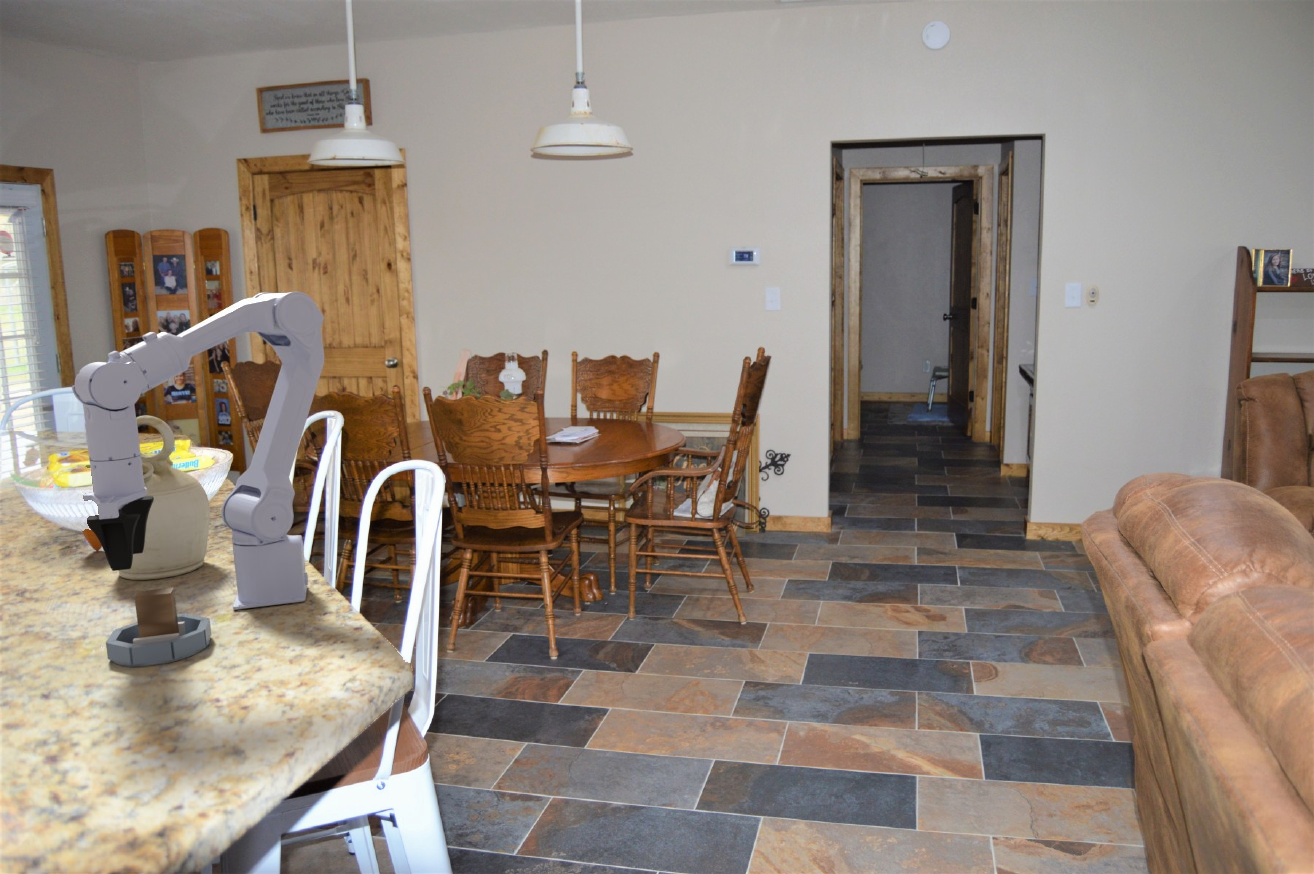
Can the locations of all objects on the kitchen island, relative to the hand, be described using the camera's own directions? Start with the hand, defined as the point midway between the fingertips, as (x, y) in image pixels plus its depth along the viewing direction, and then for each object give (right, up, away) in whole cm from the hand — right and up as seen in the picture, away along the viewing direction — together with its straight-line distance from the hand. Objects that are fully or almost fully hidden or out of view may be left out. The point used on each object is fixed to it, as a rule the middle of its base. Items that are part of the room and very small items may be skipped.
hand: (128, 561), depth 125 cm
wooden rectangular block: (+6, -10, -4) cm, 12 cm away
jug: (-11, -6, +31) cm, 34 cm away
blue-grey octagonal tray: (+6, -11, -4) cm, 13 cm away
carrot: (-29, -4, +43) cm, 52 cm away
